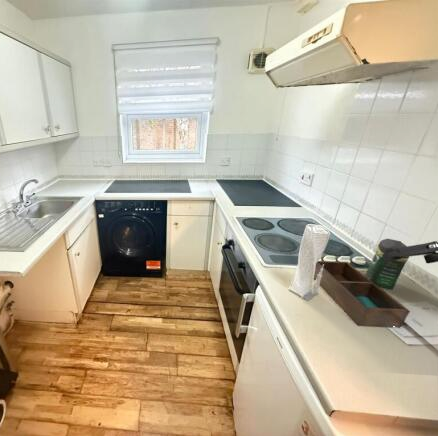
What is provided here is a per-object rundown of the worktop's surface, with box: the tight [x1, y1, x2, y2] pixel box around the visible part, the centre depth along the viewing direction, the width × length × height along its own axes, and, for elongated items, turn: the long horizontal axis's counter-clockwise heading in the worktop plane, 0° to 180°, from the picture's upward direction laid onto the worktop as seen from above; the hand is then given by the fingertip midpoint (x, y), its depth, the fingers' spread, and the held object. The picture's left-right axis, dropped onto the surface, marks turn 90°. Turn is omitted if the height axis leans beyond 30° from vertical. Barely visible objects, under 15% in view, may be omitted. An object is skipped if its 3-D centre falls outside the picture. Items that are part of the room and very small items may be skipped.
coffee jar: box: [364, 238, 410, 291], centre depth 88 cm, size 10×8×19 cm
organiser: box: [313, 260, 411, 328], centre depth 84 cm, size 13×26×7 cm, turn 176°
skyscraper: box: [288, 223, 331, 302], centre depth 83 cm, size 8×8×28 cm
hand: (404, 258), depth 82 cm, fingers open, 13 cm apart
